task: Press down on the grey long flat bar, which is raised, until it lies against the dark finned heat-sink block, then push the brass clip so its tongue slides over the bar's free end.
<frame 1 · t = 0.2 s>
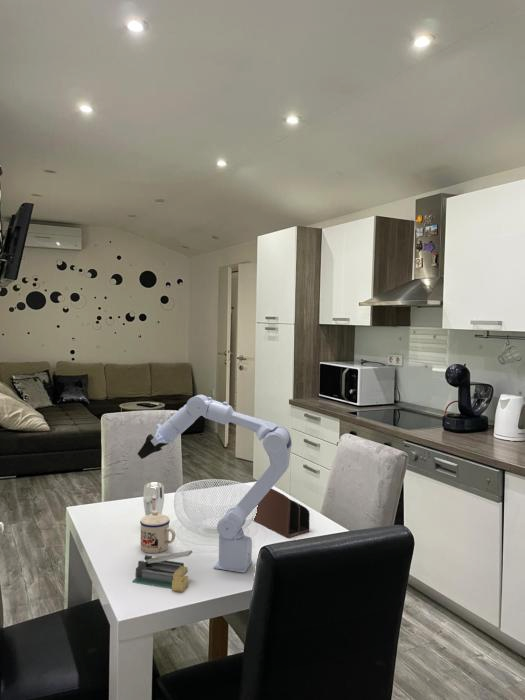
hand: (145, 452, 167), 31 cm above the table, tool tilted 45°, fingers open, 7 cm apart
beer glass: (153, 528, 190), on the table
letter holder: (280, 527, 195), on the table
clip: (180, 578, 148), point 2 cm above the table, slide at 0.0 cm
heat-sink block: (163, 576, 154), on the table
teacup with lid: (158, 549, 173), on the table
grey long flat bar: (166, 557, 154), point 6 cm above the table, hinge at 18.0°
grey forked bracket: (145, 574, 156), on the table
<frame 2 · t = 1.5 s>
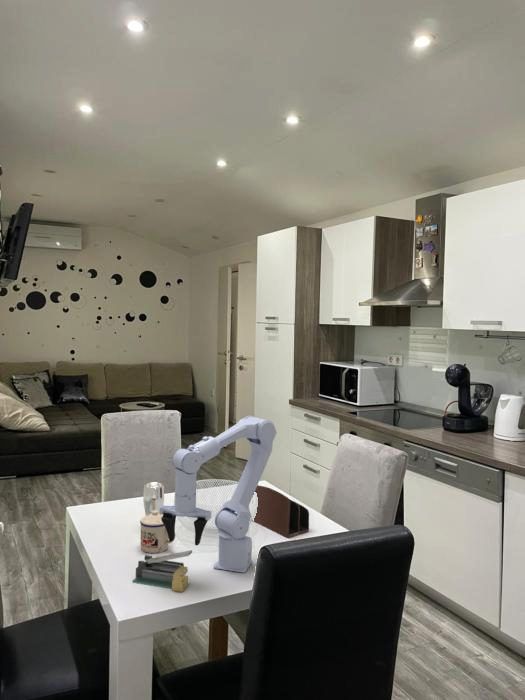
hand: (184, 542, 153), 10 cm above the table, tool pointing down, fingers open, 7 cm apart
nothing on the table moved.
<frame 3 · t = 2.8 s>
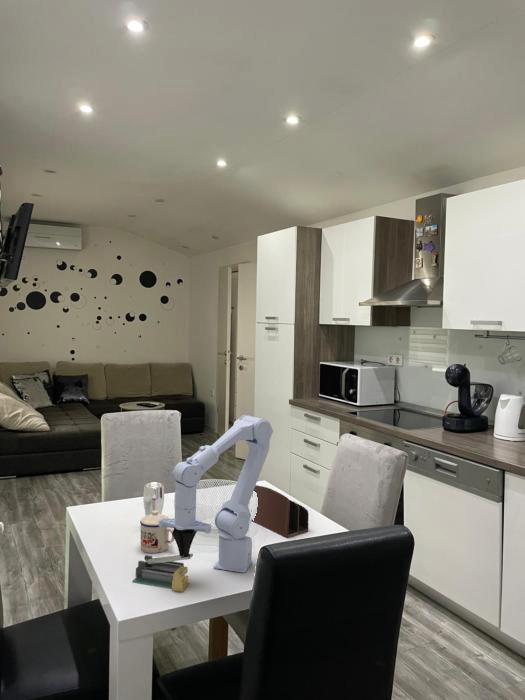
hand: (184, 555, 153), 7 cm above the table, tool pointing down, fingers closed
grey long flat bar: (167, 559, 154), point 5 cm above the table, hinge at 14.2°, touching gripper
everything else where it was.
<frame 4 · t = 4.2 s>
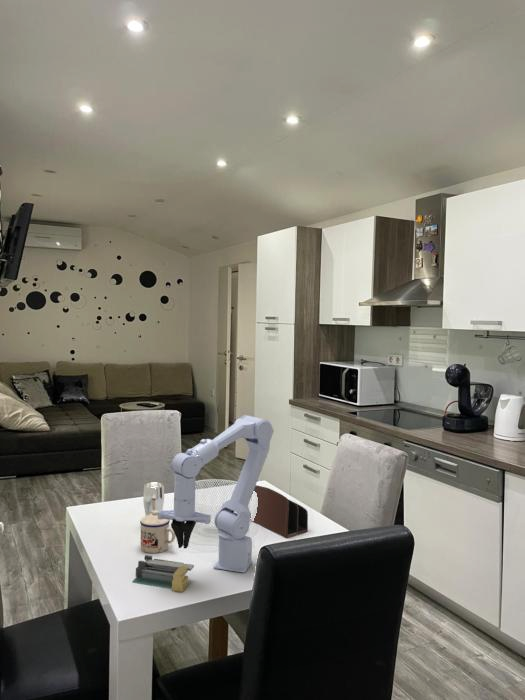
hand: (183, 546, 152), 9 cm above the table, tool pointing down, fingers closed
grey long flat bar: (167, 564, 154), point 4 cm above the table, hinge at 1.2°
everything else where it was.
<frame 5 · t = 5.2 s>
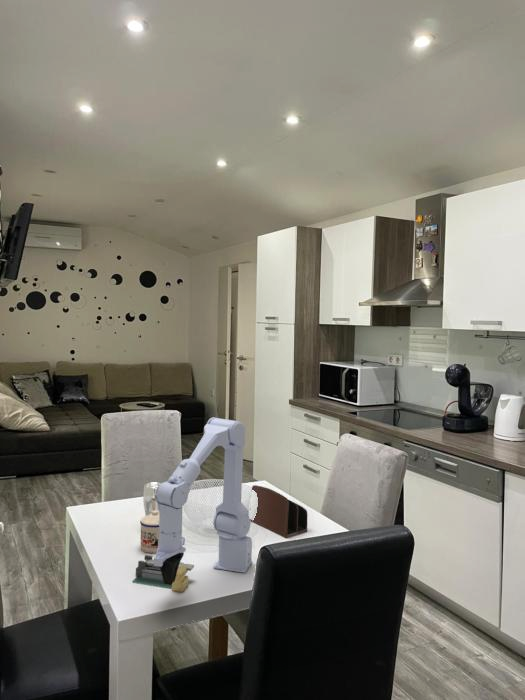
hand: (169, 582, 141), 5 cm above the table, tool pointing down, fingers closed
nothing on the table moved.
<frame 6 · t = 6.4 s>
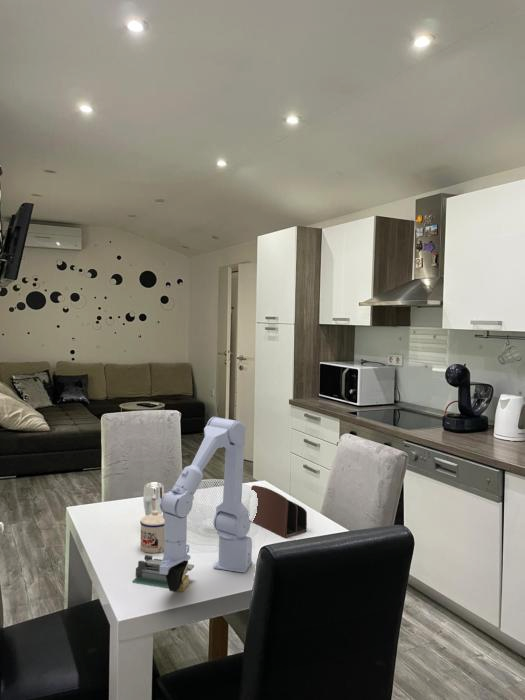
hand: (174, 589, 145), 1 cm above the table, tool pointing down, fingers closed
clip: (181, 578, 149), point 2 cm above the table, slide at 0.4 cm, touching gripper
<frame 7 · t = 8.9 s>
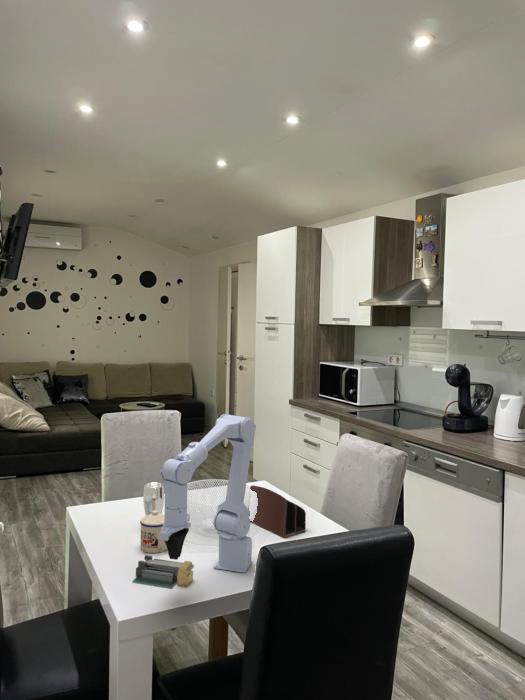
hand: (174, 557, 144), 10 cm above the table, tool pointing down, fingers closed
clip: (185, 573, 152), point 2 cm above the table, slide at 3.4 cm, touching grey long flat bar
grey long flat bar: (167, 564, 154), point 4 cm above the table, hinge at 1.2°, touching clip
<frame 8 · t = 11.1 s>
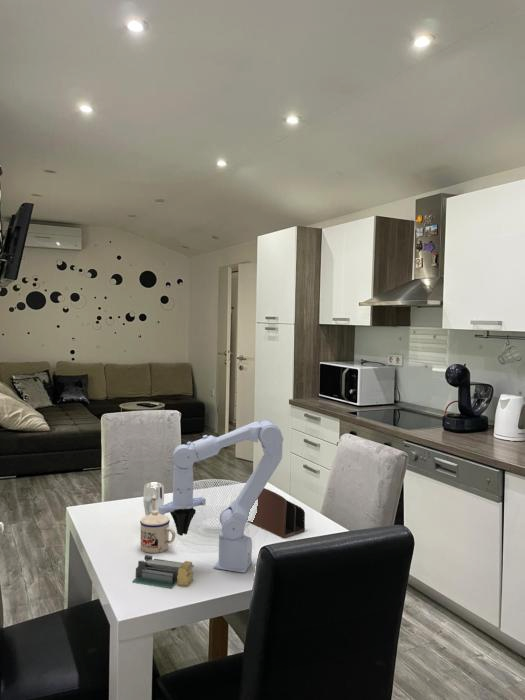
hand: (182, 533, 160), 10 cm above the table, tool pointing down, fingers closed
at the end: grey long flat bar at +1° (first picture: +18°); clip slide at 3.4 cm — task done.
